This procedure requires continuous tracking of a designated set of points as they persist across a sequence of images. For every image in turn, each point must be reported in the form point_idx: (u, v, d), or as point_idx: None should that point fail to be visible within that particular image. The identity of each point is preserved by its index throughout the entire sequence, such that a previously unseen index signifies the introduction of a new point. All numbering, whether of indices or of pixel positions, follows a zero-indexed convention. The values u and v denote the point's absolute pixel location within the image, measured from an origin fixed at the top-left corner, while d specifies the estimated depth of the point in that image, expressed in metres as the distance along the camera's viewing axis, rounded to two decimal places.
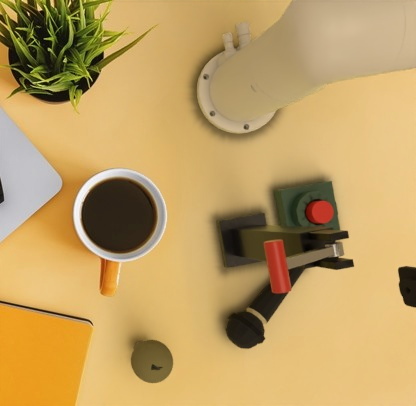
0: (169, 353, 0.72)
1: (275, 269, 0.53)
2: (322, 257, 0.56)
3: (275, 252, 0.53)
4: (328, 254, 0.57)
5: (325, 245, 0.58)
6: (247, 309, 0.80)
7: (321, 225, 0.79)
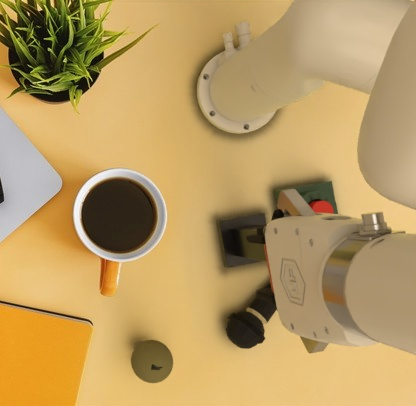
0: (169, 353, 0.72)
1: None
2: None
3: None
4: None
5: None
6: (247, 309, 0.80)
7: None
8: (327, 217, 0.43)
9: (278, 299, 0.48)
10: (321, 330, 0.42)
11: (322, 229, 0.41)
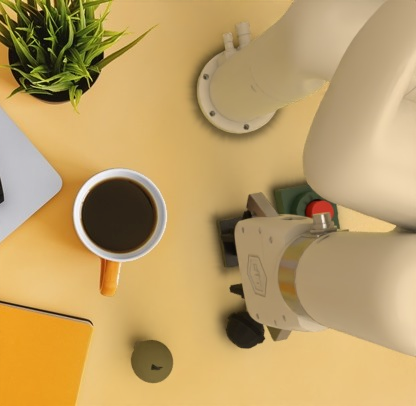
0: (169, 353, 0.72)
1: None
2: None
3: None
4: None
5: None
6: None
7: None
8: (286, 217, 0.49)
9: (246, 292, 0.53)
10: (280, 318, 0.47)
11: (280, 227, 0.46)
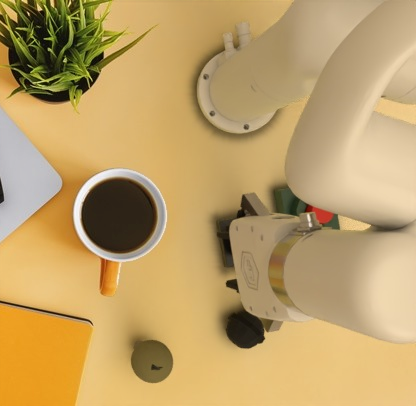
0: (169, 353, 0.72)
1: None
2: None
3: None
4: None
5: None
6: None
7: None
8: (277, 217, 0.52)
9: (240, 286, 0.57)
10: (271, 309, 0.51)
11: (270, 226, 0.50)
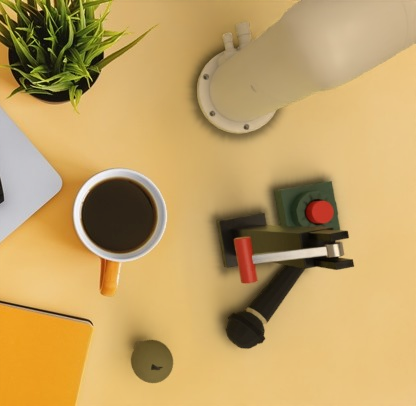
0: (169, 353, 0.72)
1: (238, 262, 0.61)
2: (306, 256, 0.59)
3: (236, 248, 0.61)
4: (316, 254, 0.58)
5: None
6: (247, 309, 0.80)
7: (321, 225, 0.79)
8: None
9: None
10: None
11: None
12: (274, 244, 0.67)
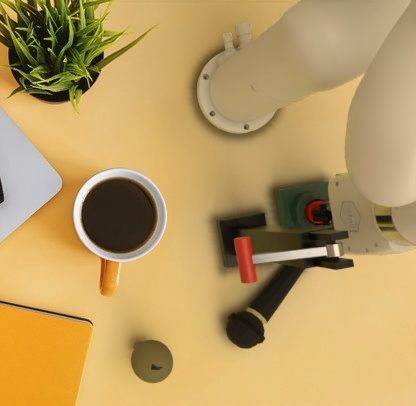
0: (169, 353, 0.72)
1: (238, 262, 0.61)
2: (306, 256, 0.59)
3: (236, 248, 0.61)
4: (316, 254, 0.58)
5: None
6: (247, 309, 0.80)
7: (321, 225, 0.79)
8: None
9: None
10: (371, 245, 0.64)
11: None
12: (274, 244, 0.67)
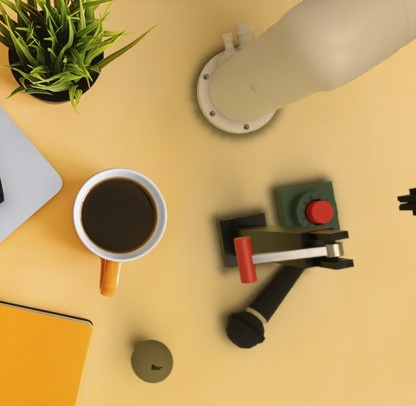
0: (169, 353, 0.72)
1: (238, 262, 0.61)
2: (306, 256, 0.59)
3: (236, 248, 0.61)
4: (316, 254, 0.58)
5: None
6: (247, 309, 0.80)
7: (321, 225, 0.79)
8: None
9: None
10: None
11: None
12: (274, 244, 0.67)
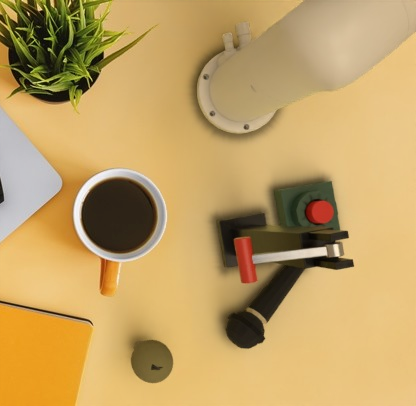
0: (169, 353, 0.72)
1: (238, 262, 0.61)
2: (306, 256, 0.59)
3: (236, 248, 0.61)
4: (316, 254, 0.58)
5: None
6: (247, 309, 0.80)
7: (321, 225, 0.79)
8: None
9: None
10: None
11: None
12: (274, 244, 0.67)
